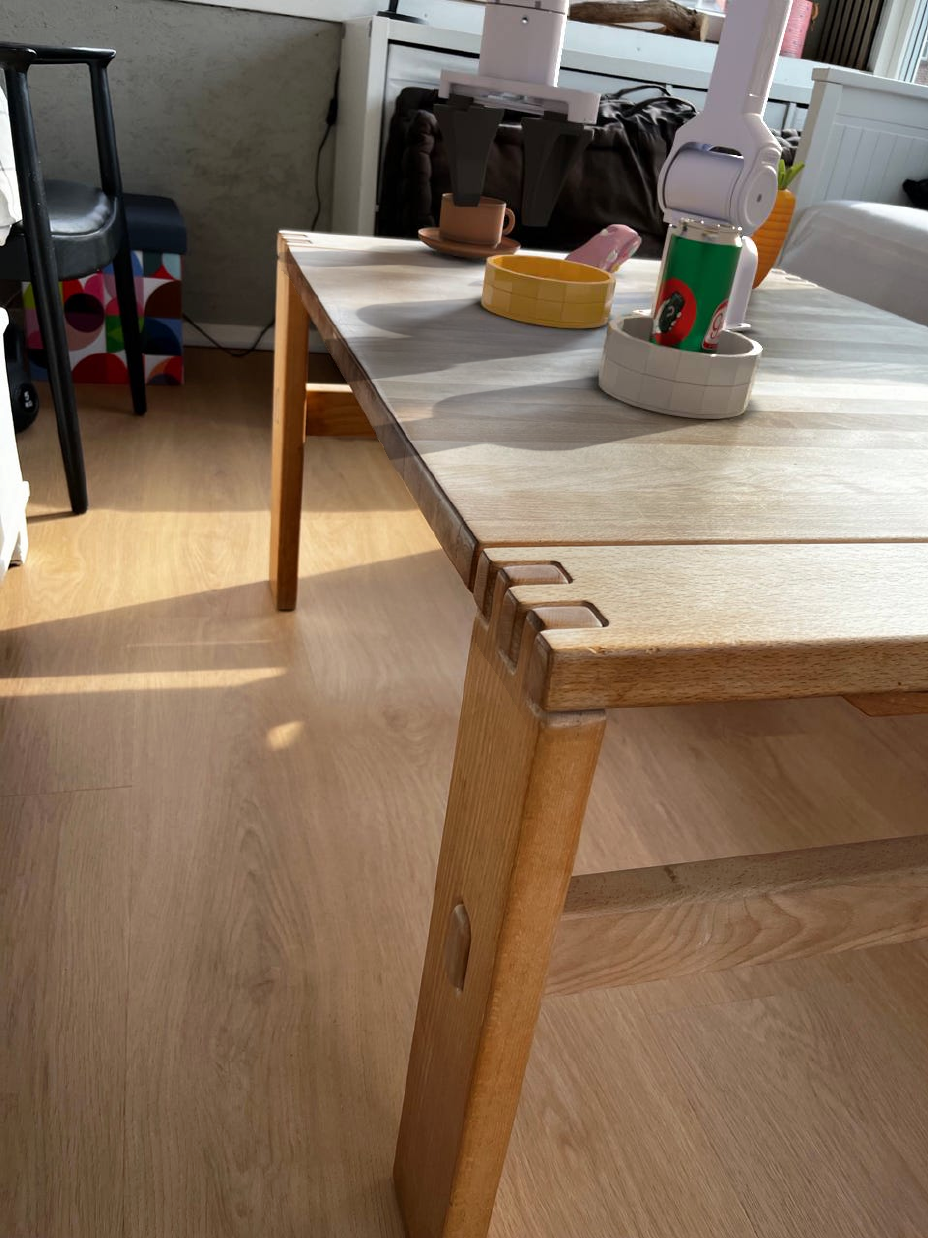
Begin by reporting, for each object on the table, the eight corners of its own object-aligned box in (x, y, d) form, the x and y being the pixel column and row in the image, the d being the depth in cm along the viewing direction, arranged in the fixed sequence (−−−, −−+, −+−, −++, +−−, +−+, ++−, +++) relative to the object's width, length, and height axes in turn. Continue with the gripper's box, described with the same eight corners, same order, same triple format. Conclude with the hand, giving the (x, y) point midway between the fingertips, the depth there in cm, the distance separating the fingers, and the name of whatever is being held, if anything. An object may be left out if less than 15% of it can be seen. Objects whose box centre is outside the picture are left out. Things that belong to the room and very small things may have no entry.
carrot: (778, 291, 125) (813, 157, 118) (765, 295, 121) (801, 157, 114) (739, 282, 127) (771, 151, 120) (726, 286, 123) (758, 150, 116)
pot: (658, 366, 85) (670, 311, 82) (774, 408, 78) (790, 349, 76) (568, 380, 77) (578, 320, 75) (686, 426, 71) (702, 362, 69)
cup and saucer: (456, 241, 127) (462, 188, 124) (537, 261, 122) (545, 206, 119) (395, 247, 118) (400, 190, 115) (479, 269, 113) (487, 210, 110)
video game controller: (584, 294, 116) (620, 241, 111) (555, 268, 116) (590, 215, 112) (619, 285, 123) (655, 236, 119) (592, 260, 124) (626, 211, 120)
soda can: (706, 405, 75) (748, 233, 69) (637, 392, 76) (673, 221, 70) (705, 387, 79) (745, 224, 74) (640, 376, 80) (675, 213, 74)
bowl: (542, 293, 105) (548, 253, 104) (633, 323, 98) (641, 280, 96) (454, 299, 98) (460, 255, 96) (546, 332, 90) (554, 286, 88)
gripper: (416, -5, 73) (398, 197, 80) (563, 9, 65) (530, 235, 71) (486, 8, 78) (464, 198, 84) (633, 23, 69) (596, 234, 76)
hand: (499, 215), depth 78 cm, fingers open, 7 cm apart
